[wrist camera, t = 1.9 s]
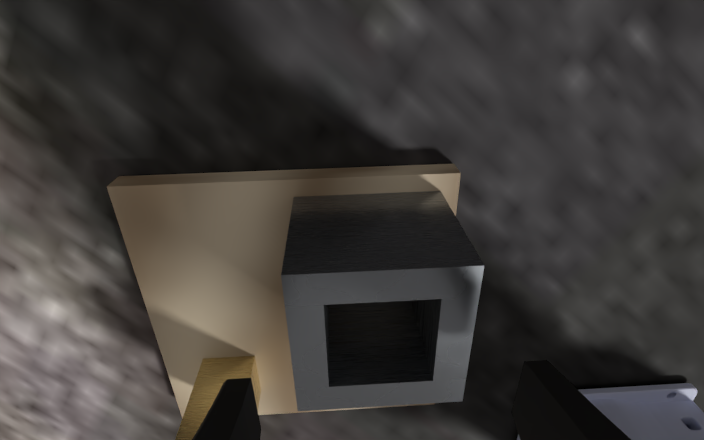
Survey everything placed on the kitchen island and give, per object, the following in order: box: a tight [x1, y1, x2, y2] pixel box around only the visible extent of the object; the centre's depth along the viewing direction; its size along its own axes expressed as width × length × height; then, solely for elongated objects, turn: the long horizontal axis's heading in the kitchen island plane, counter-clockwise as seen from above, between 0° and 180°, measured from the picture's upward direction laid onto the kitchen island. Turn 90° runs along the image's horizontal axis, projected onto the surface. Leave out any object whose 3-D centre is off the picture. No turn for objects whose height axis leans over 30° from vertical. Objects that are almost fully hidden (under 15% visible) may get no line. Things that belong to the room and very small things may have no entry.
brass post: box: [175, 356, 261, 440], centre depth 18 cm, size 2×2×6 cm
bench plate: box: [107, 164, 461, 418], centre depth 19 cm, size 13×13×1 cm
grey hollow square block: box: [281, 191, 484, 411], centre depth 15 cm, size 6×6×5 cm
